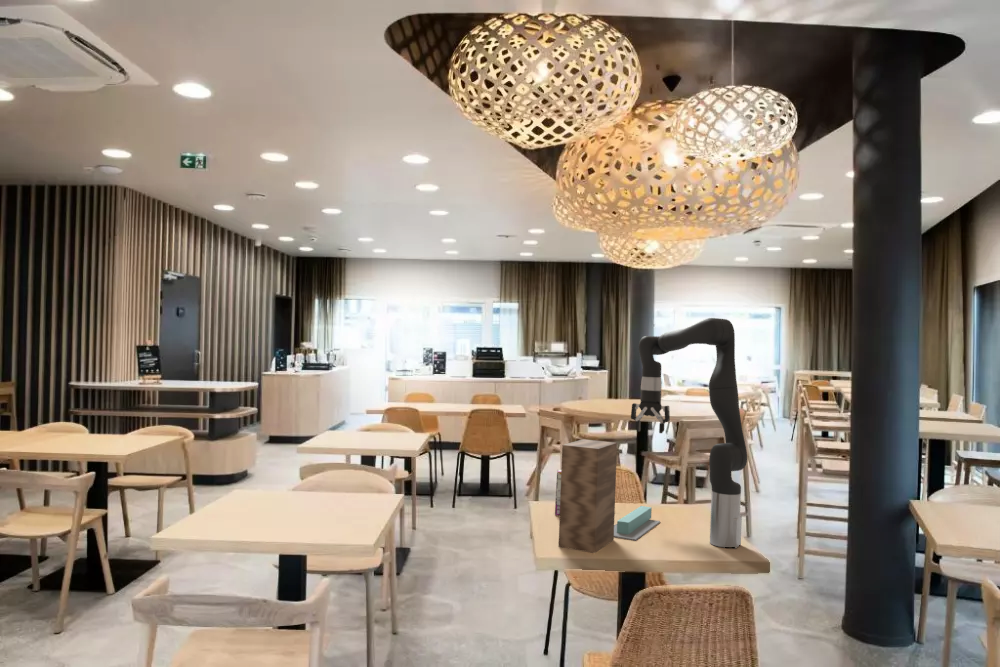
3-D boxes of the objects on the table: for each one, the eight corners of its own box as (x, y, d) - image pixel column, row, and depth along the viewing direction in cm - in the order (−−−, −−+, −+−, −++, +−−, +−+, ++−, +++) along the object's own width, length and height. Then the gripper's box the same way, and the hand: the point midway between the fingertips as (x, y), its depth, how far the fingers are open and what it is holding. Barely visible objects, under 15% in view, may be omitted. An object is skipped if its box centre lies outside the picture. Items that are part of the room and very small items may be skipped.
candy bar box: (554, 515, 270) (556, 471, 270) (555, 512, 275) (556, 469, 275) (585, 517, 269) (586, 473, 269) (584, 514, 274) (586, 470, 274)
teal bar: (651, 518, 269) (651, 507, 269) (628, 534, 244) (628, 522, 244) (640, 516, 271) (641, 505, 271) (616, 532, 246) (617, 520, 246)
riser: (613, 539, 239) (617, 442, 239) (594, 552, 223) (598, 448, 223) (579, 534, 244) (583, 439, 245) (558, 546, 228) (562, 444, 229)
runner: (660, 522, 265) (660, 521, 265) (635, 540, 239) (635, 539, 239) (628, 517, 271) (628, 516, 271) (601, 535, 244) (601, 533, 244)
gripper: (672, 389, 273) (671, 433, 272) (635, 387, 279) (634, 429, 279) (667, 390, 266) (665, 434, 266) (629, 388, 273) (628, 431, 272)
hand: (649, 432), depth 272 cm, fingers open, 8 cm apart
